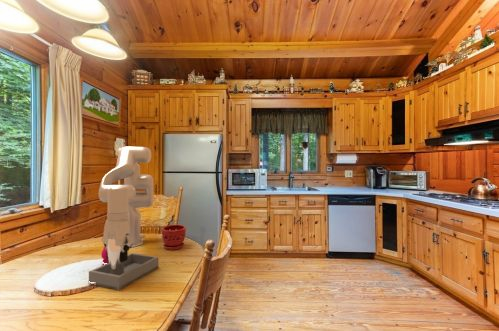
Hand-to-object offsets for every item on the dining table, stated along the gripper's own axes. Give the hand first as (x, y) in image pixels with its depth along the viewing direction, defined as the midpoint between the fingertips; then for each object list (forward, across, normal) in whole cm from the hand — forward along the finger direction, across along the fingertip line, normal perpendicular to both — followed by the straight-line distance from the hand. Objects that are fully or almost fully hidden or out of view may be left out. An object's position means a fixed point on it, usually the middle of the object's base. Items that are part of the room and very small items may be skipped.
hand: (117, 259), depth 101 cm
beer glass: (+6, 0, 0) cm, 6 cm away
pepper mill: (+9, -18, +13) cm, 24 cm away
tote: (+8, 0, +5) cm, 10 cm away
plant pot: (+9, -3, +43) cm, 44 cm away
